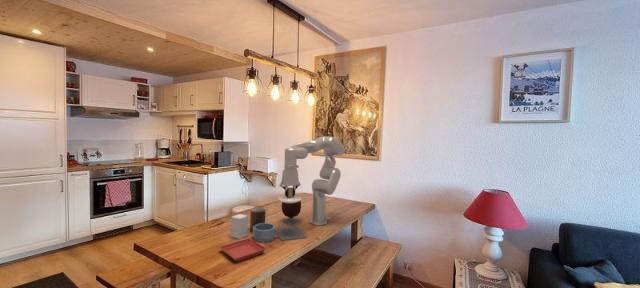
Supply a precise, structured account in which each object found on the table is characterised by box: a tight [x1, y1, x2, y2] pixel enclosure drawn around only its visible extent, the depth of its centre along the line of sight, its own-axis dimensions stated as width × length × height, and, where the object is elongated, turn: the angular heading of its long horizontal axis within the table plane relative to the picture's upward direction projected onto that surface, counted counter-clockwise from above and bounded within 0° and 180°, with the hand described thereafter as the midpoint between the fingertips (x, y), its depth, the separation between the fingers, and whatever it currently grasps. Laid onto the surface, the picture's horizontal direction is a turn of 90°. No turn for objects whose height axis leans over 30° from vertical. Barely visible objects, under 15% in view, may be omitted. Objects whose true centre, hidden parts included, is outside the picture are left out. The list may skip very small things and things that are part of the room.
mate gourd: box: [281, 200, 302, 226], centre depth 193 cm, size 16×14×20 cm
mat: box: [276, 225, 308, 242], centre depth 172 cm, size 16×20×1 cm
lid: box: [277, 187, 303, 203], centre depth 170 cm, size 15×15×8 cm
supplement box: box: [230, 213, 249, 240], centre depth 164 cm, size 7×7×13 cm
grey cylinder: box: [249, 207, 266, 233], centre depth 175 cm, size 10×10×15 cm
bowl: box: [252, 222, 277, 243], centre depth 163 cm, size 13×13×7 cm
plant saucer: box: [219, 238, 266, 263], centre depth 143 cm, size 18×18×3 cm
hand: (290, 195), depth 170 cm, fingers closed on lid, 3 cm apart
